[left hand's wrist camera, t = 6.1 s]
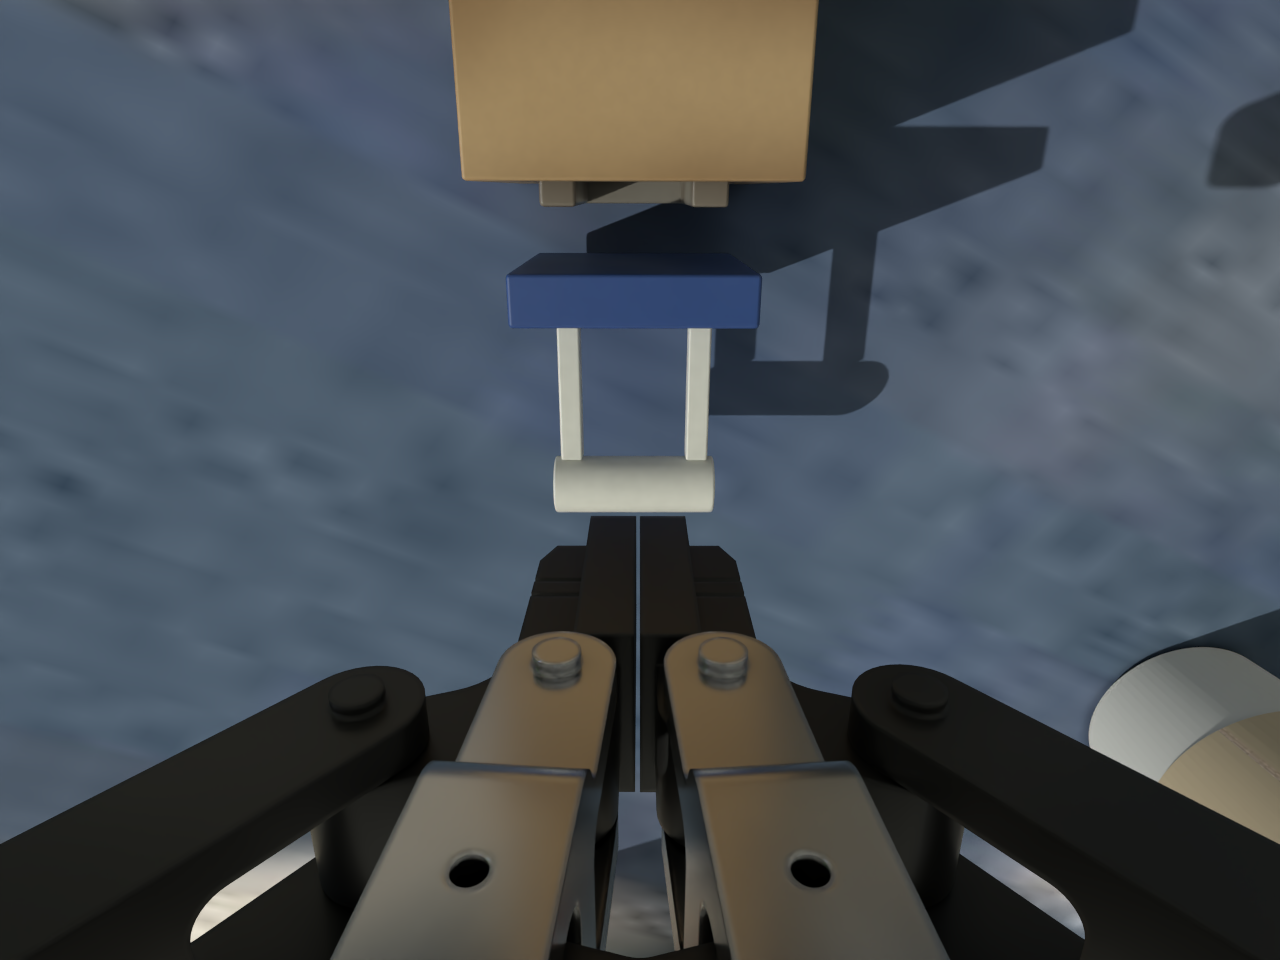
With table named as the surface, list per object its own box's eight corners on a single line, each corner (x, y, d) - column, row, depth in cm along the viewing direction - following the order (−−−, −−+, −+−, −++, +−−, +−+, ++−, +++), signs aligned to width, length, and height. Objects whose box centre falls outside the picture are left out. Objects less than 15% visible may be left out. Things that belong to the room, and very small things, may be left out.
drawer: (721, 476, 25) (746, 560, 19) (547, 476, 25) (521, 559, 19) (763, -482, 17) (826, -816, 11) (505, -484, 17) (441, -820, 11)
